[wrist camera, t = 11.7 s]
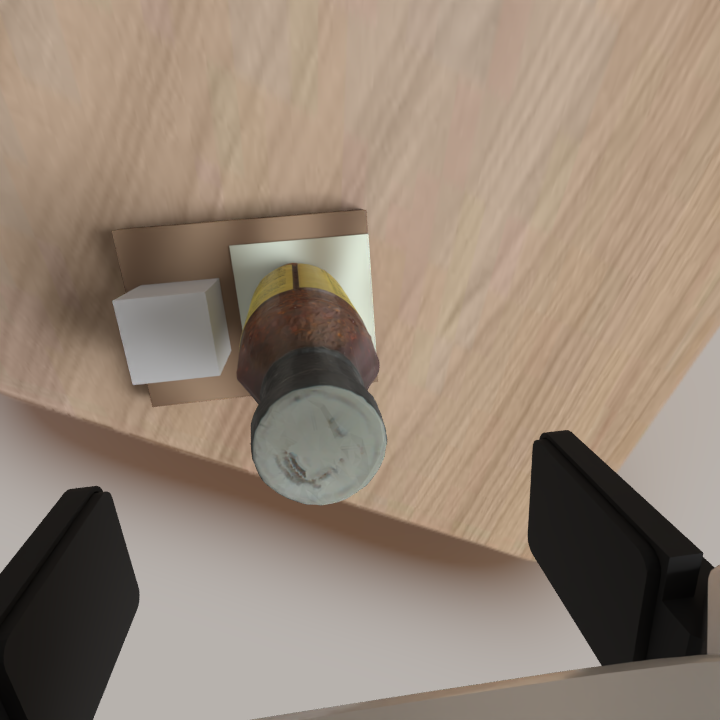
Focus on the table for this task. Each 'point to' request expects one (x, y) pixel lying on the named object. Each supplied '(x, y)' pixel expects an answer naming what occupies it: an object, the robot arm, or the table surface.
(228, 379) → the base board
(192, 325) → the grey block
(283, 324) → the sauce bottle
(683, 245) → the table surface
